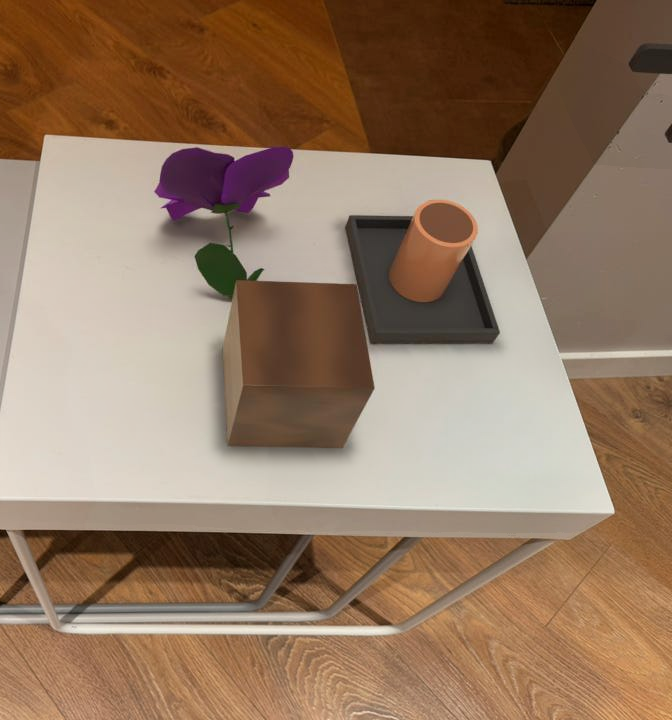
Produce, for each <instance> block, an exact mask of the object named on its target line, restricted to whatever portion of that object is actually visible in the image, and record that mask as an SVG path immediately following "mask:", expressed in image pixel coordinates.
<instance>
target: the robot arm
mask: <svg viewBox="0 0 672 720" xmlns="http://www.w3.org/2000/svg"><path fill="white" fill-rule="evenodd" d="M628 66H629V68H630V70H631V72H632V73H642V74H643V73H644V74H657V75H658V74H660V75H672V44H671V43H657V42H656V43H654V42H647V43H642V44H641V45H639V46H638V47H637V49H636V50H635V52H634V54H633V55H632V56H631V58H630V60H629V62H628ZM664 136H665V138H666V141H667V142H668V144H672V123H670V125H669V126H668V128H667V129H666V130H665V132H664Z"/></svg>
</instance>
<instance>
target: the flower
mask: <svg viewBox="0 0 672 720" xmlns="http://www.w3.org/2000/svg"><path fill="white" fill-rule="evenodd" d="M293 161H294V151H293V150H292V148H291V147H287V146H285V145H284V146H283V145H282V146H272V147H270V148H265V149H262V150H259V151H256V152H252V153H249V154H246V155H244V156H242V157H240V158H238V159H236V160H235V157H234V156H232V155H231V154H228V153H222V152H215V151H214V152H213V151H211V150H207V149H204V148H200V147H198V146H197V147H188V148H181V149H179V150H177V151H174V152H172V153H171V154H170V155H169V156H168V157H166V158H165V161H164V162H163V163H162V165H161V169H160V173H159V179H158V180H159V182H158V183H157V185H156V187H155V189H154V191H153V193H154V194H156V196H157V197H158V198H159V199H164V200H169V201H168V202H166V203H165V204H164V205H163V206H161V207H160V209H166V211H167V213H168V216H169V217H170V219H171V220H172V222H173V223H175V222H176V221H178V220H181V219H182V218H183V217H185V216H186V215H188V214H190V213H193V212H195V211H197V210H199V209H205V210H209V211H210V213H212V214H216V215H221V214H224V216H225V219H226V226H227V229H228V236H229V237H228V238H229V244H226V245H225V244H221V243H214V242H208V243H207V244H206V245H204V246H203V247H201V248H199V249H198V250H197V252H196V253H195V254H194V259H195V264H196V268H197V269H198V271H199V273H200V274H201V276H202V277H203V279H204V280H205V282H206V283H207V285H208V286H209V287H211V288H212V289H213V290H215V291H216V292H217V293H219V294H220V295H221V296H226V297H233V294H234V289H235V284H236V280H247V281H258V279H259V277H260V276H261V274H262V273H263V272H264V271H265V268H263V267H260V268H258V269H256V270H254V271H253V272H252V273H251V274H250V275H249V276H248V274H247V271H246V269H245V268H244V266H243V264H242V262H241V261H240V260H239V257H238V256H237V255H236V254H235V252H234V247H233V246H234V245H233V236H232V229H233V228H235V225H231V224H230V219H229V215H228V213H232V212H233V211H235V212H237V213H242V214H249V213H250V212H251V211H253V209H254V208H255V206H256V204H257V202H258V200H259V199H260V198H267V197H271V193H269V192H266V191H269V190H271V189H274V188H276V187H278V186H282V185H283V184H285V182H286V181H287V180H289V179H290V169H291V166H292V164H293Z"/></svg>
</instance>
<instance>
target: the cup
mask: <svg viewBox="0 0 672 720" xmlns="http://www.w3.org/2000/svg"><path fill="white" fill-rule="evenodd" d="M412 216H413V218H412V220H411V223H410V225H409V227H408V229H407V231H406V233H405V236H404V238H403V240H402V242H401V244H400V247H399V249H398V251H397V253H396V255H395V258H394V260H393V262H392V264H391V266H390V269H389V280H390V283H391V285H392V286H393V288H394V289H395V290H396V291H397V292H398V293H399V294H400V295H402V296H403V297H405V298H407V299H409V300H412V301H416V302H431V301H434V300H437V299H438V298H440V297H441V296H442V295H443V294H444V292H445V290H446V289H447V287H448V285H449V283H450V282H451V280H452V278H453V276H454V275H455V273H456V271H457V269H458V268H459V266H460V264H461V262H462V261H463V259H464V257H465V255H466V254H467V252H468V250H469V248H470V247H471V246H472V245H473V243H474V241H475V240H476V238H477V235H478V231H479V229H478V228H479V227H478V223H477V221H476V218H475V217H474V216H473V214H471V212H470V211H469V210H468V209H467V208H465V207H464V206H463V205H460V204H458V203H456V202H453V201H450V200H447V199H430V200H427V201H425V202H423V203H421V204H419V206H418V207H417V208H416V210H415V212H414V214H413V215H412Z"/></svg>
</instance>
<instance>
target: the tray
mask: <svg viewBox="0 0 672 720" xmlns="http://www.w3.org/2000/svg"><path fill="white" fill-rule="evenodd" d="M413 216H414V215H367V214H366V215H365V214H364V215H357V214H349V215H348V219H347V221H346V224H345V226H344V227H345V232H346V237H347V242H348V246H349V250H350V251H349V252H350V255H351V260H352V264H353V270H354V273H355V279H356V282H357V283H356V284H357V289H358V294H359V298H360V303H361V307H362V310H363V315H364V316H363V317H364V320H365V324H366V329H367V334H368V339H369V343H370V345H373V344H374V345H384V344H385V345H390V344H391V345H396V344H397V345H402V344H403V345H408V344H411V345H415V344H417V345H418V344H420V345H422V344H423V345H424V344H427V345H430V344H431V345H432V344H437V345H439V344H441V345H442V344H443V345H445V344H448V345H449V344H455V345H458V344H459V345H460V344H463V345H466V344H469V345H471V344H477V345H479V344H480V345H481V344H482V345H483V344H487V345H488V344H490V345H491V344H493V343H495V341H496V339H497V338H498V337H499V335H500V333H501V331H500V328H499V325H498V322H497V319H496V316H495V313H494V310H493V307H492V303H491V301H490V298H489V294H488V292H487V289H486V285H485V283H484V280H483V277H482V274H481V271H480V268H479V264H478V262H477V259H476V254H475V251H474V249H473V247H472V245H471V247H470V248H469V250H468V252H467V254H466V255H465V257H464V259H463V261H462V262H461V264H460V266H459V268H458V269H457V271H456V273H455V275H454V276H453V278H452V280H451V282H450V283H449V285H448V287H447V289H446V290H445V292H444V294H443V295H442V296H441V297H440V298H438V299H437V300H434V301H431V302H416V301H412V300H409V299H407V298H405V297H403V296H402V295H400V294H399V293H398V292H397V291H396V290H395V289H394V288H393V286H392V285H391V283H390V280H389V269H390V266H391V264H392V262H393V260H394V258H395V255H396V253H397V251H398V249H399V247H400V244H401V242H402V240H403V238H404V236H405V233H406V231H407V229H408V227H409V225H410V223H411V220H412V218H413Z"/></svg>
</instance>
